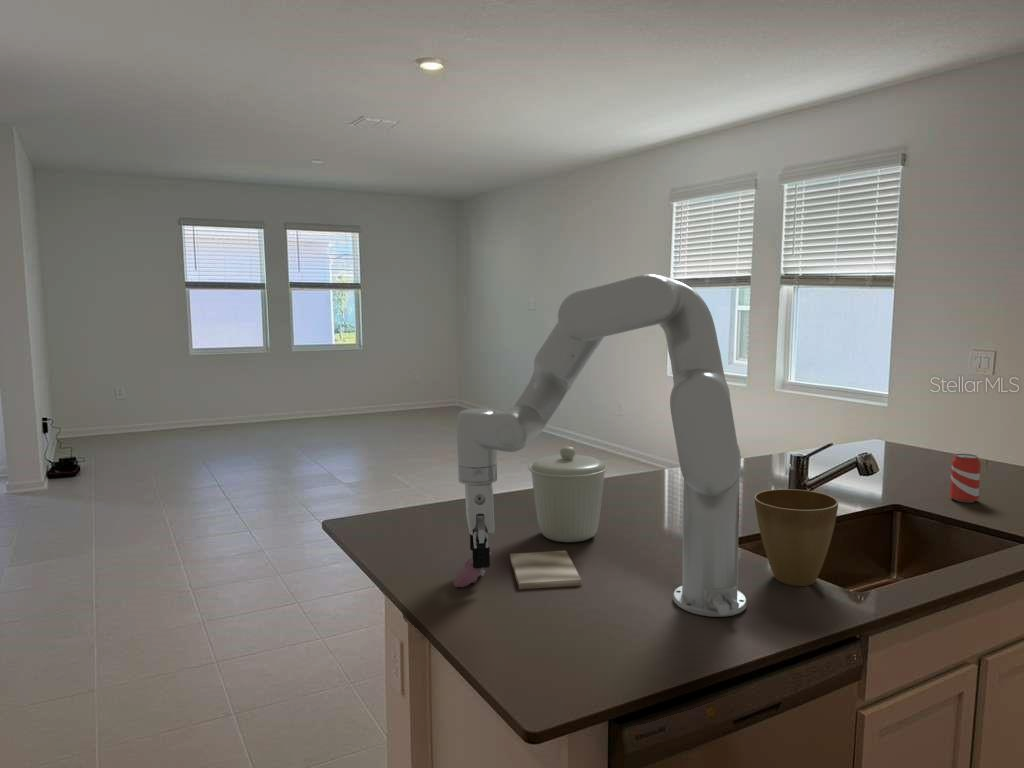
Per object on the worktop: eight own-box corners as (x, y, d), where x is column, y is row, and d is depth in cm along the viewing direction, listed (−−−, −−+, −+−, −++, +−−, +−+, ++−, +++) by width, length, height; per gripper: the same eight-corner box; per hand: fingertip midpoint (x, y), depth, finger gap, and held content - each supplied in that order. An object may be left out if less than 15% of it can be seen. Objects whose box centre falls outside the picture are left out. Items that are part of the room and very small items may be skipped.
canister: (543, 553, 153) (542, 457, 151) (520, 527, 170) (518, 442, 168) (620, 544, 158) (620, 451, 155) (590, 520, 175) (589, 436, 173)
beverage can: (977, 504, 182) (980, 459, 181) (948, 501, 186) (950, 456, 184) (979, 499, 187) (981, 454, 185) (950, 495, 191) (953, 452, 189)
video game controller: (471, 597, 134) (486, 566, 133) (450, 586, 135) (465, 555, 134) (483, 577, 144) (497, 548, 143) (463, 567, 144) (477, 538, 143)
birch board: (581, 585, 135) (581, 579, 135) (519, 589, 134) (519, 583, 134) (566, 555, 151) (565, 550, 151) (510, 559, 150) (510, 553, 149)
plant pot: (812, 563, 144) (815, 487, 142) (850, 593, 129) (854, 508, 128) (741, 565, 144) (742, 489, 142) (771, 596, 129) (773, 510, 127)
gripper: (501, 483, 128) (503, 573, 130) (493, 462, 145) (495, 542, 147) (459, 485, 128) (462, 576, 130) (456, 463, 145) (459, 544, 147)
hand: (479, 558), depth 138 cm, fingers open, 9 cm apart
